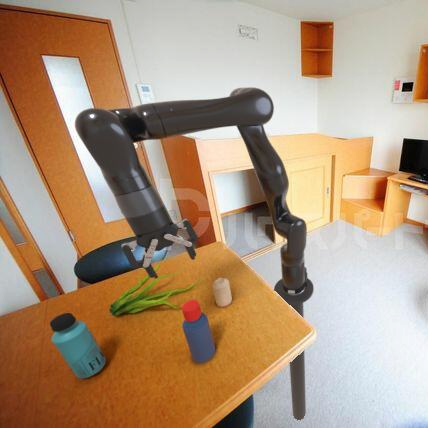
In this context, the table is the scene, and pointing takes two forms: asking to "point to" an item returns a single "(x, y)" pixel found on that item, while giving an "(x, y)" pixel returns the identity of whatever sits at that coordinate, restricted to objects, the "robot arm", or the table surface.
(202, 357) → the water bottle
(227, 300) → the candle
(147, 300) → the decorative plant
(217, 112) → the robot arm
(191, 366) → the table surface
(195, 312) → the cap
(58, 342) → the beverage bottle
